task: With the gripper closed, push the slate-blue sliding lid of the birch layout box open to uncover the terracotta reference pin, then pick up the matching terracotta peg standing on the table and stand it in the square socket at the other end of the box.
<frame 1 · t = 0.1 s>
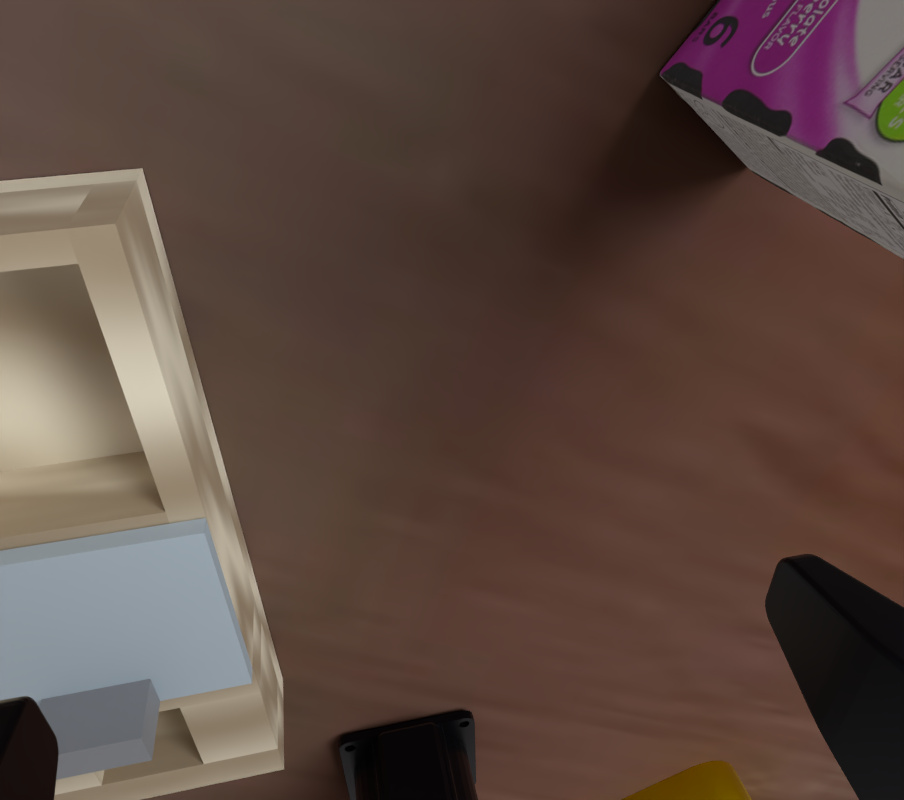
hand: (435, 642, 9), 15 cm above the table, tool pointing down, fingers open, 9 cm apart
lid: (67, 663, 21), point 5 cm above the table, slide at 0.0 cm
board: (92, 509, 24), on the table
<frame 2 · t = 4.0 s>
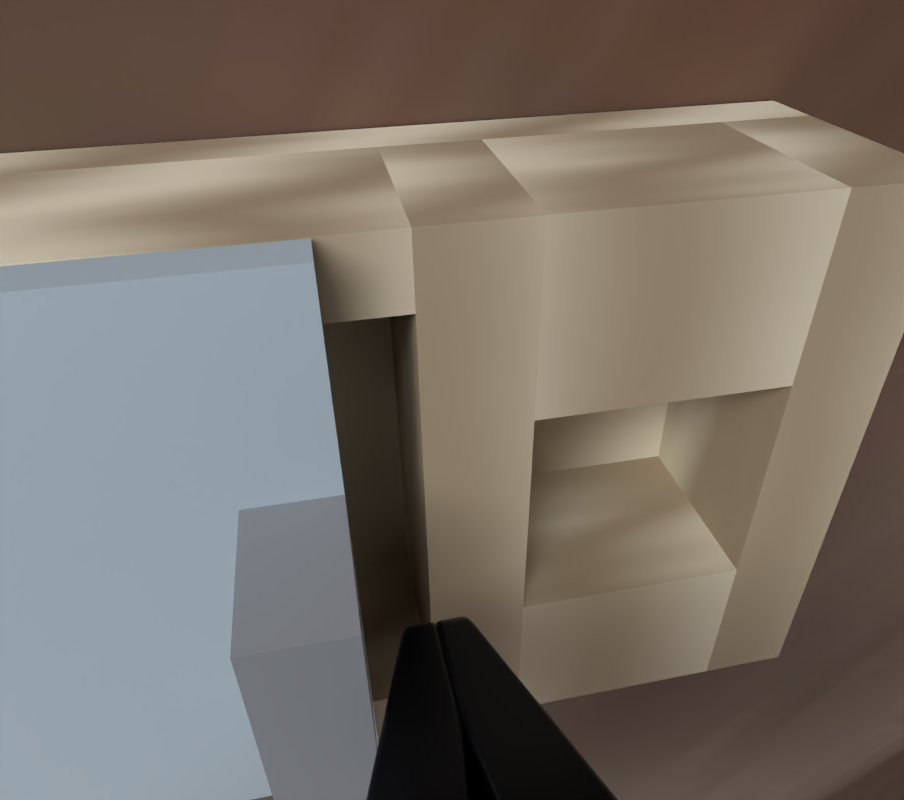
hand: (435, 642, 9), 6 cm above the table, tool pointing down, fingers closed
lid: (59, 684, 8), point 5 cm above the table, slide at 1.0 cm, touching gripper
board: (131, 415, 13), on the table
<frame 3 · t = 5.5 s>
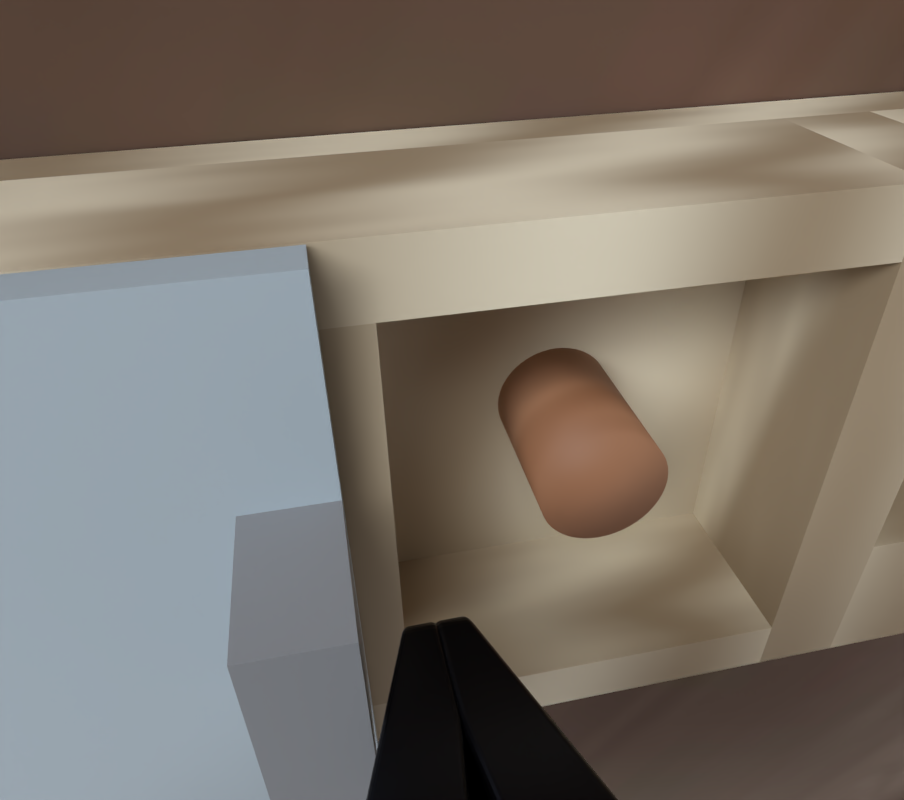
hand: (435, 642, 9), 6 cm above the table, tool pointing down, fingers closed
lid: (57, 692, 8), point 5 cm above the table, slide at 7.1 cm, touching gripper
board: (473, 375, 13), on the table
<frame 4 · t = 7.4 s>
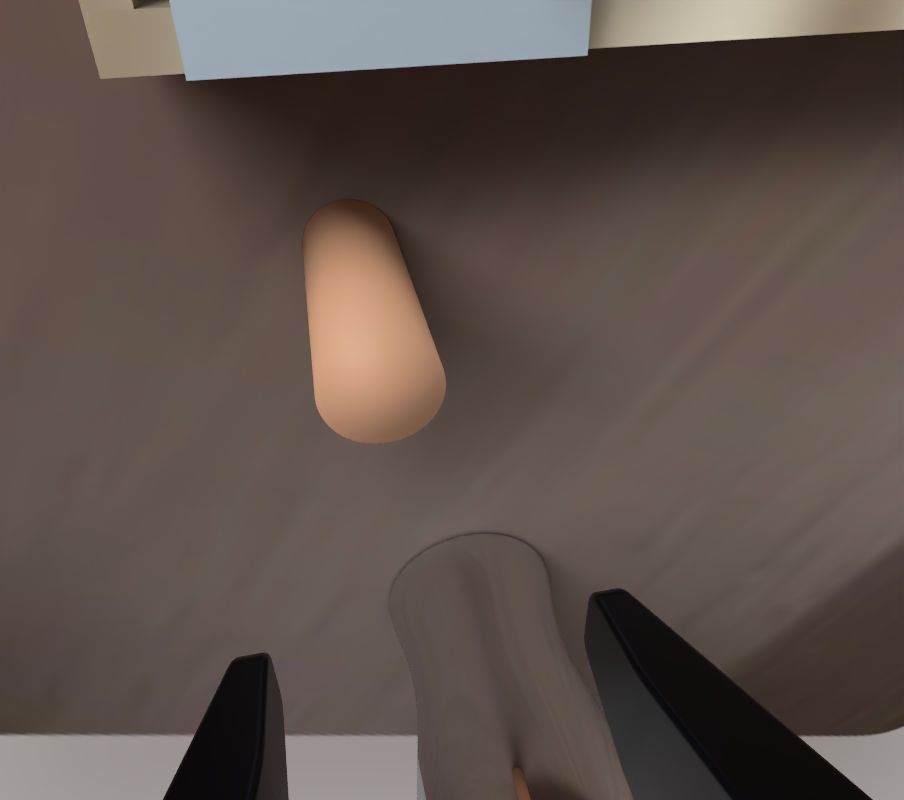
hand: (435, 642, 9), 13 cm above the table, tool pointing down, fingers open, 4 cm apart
peg: (349, 244, 19), on the table
beer glass: (467, 586, 28), on the table
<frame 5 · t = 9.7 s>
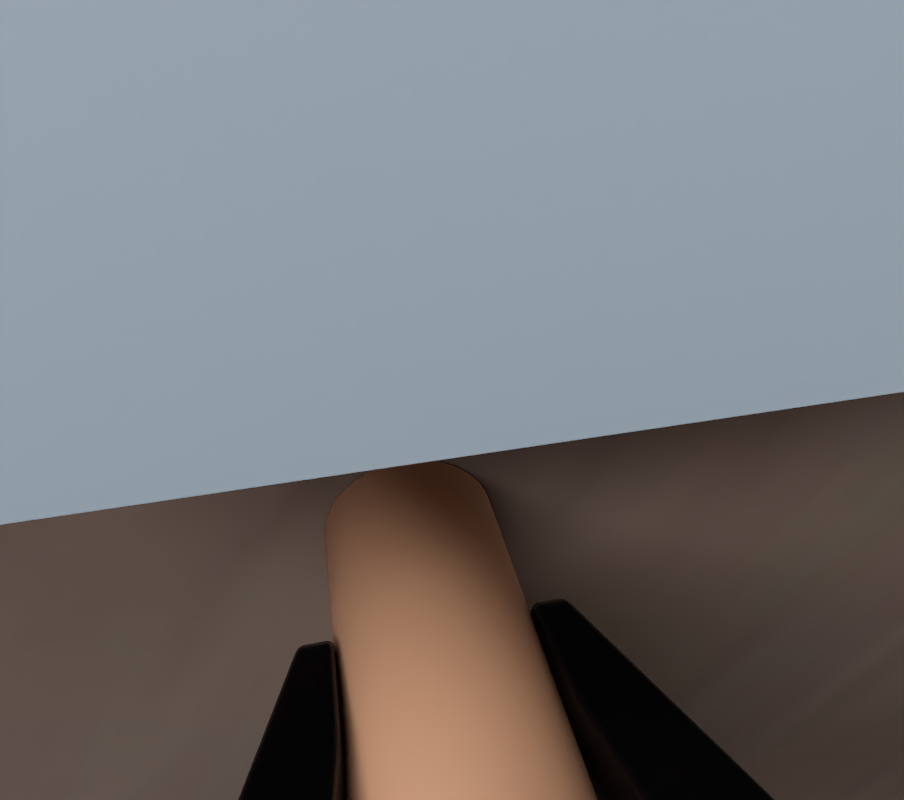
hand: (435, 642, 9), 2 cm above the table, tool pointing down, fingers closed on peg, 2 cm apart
peg: (409, 526, 10), on the table, touching gripper
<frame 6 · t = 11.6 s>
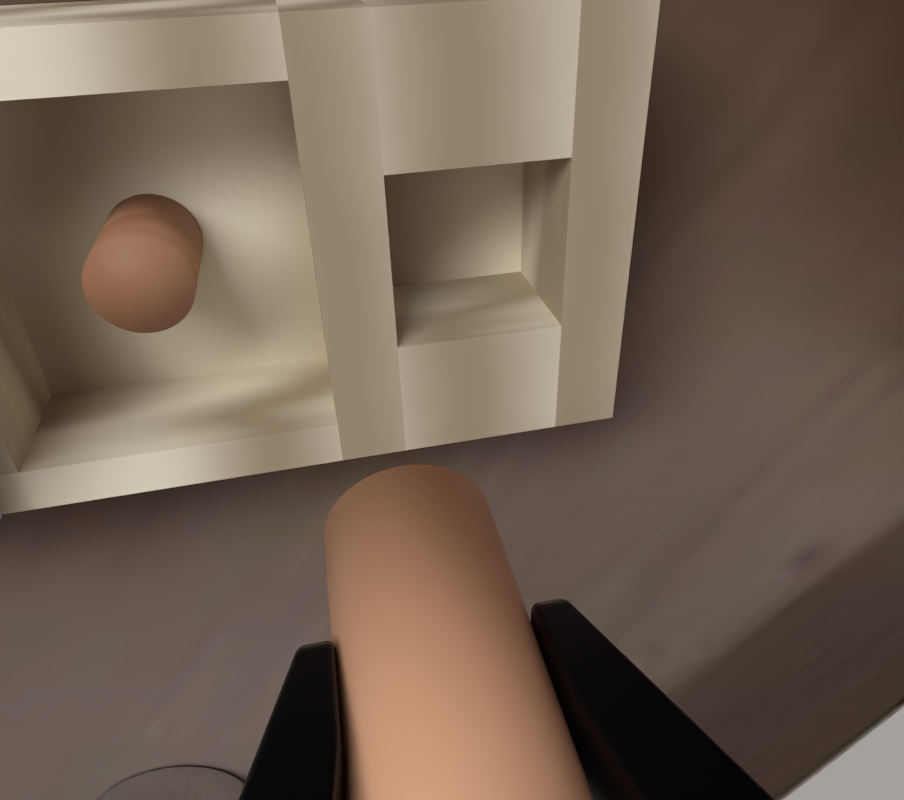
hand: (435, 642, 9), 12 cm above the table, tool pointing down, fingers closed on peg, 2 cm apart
board: (104, 229, 16), on the table
peg: (408, 530, 10), point 10 cm above the table, touching gripper
when the fingers open (4 cm above the table, at t = 13.9 s): peg drops 1 cm, resting on board.
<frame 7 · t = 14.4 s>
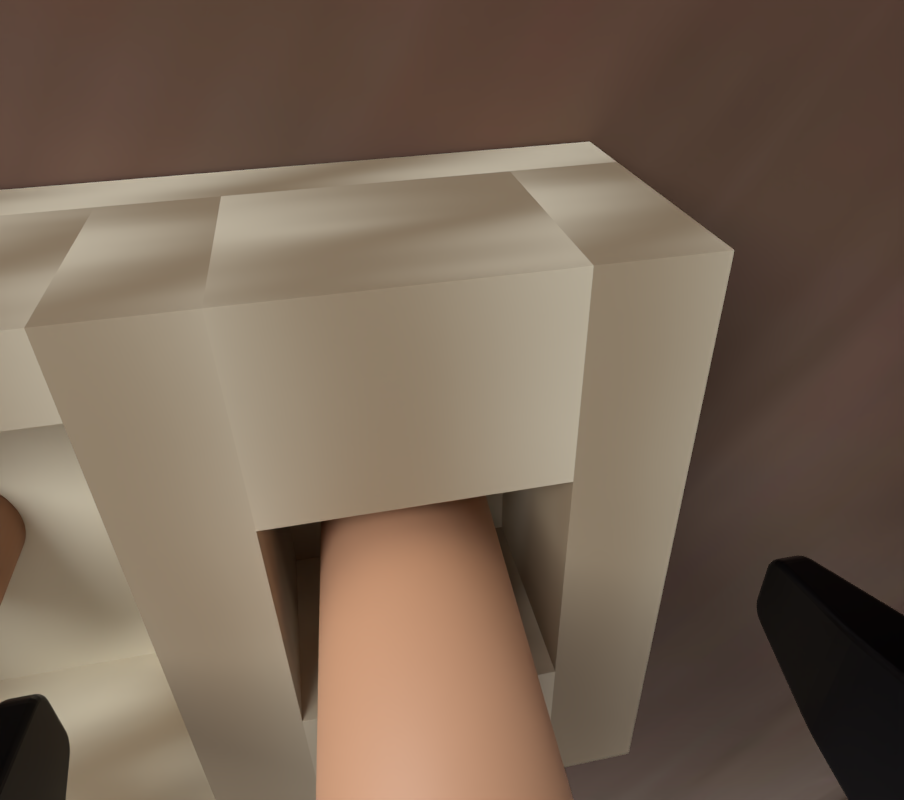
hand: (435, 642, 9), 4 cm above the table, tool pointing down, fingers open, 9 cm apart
peg: (398, 466, 12), point 1 cm above the table, touching board
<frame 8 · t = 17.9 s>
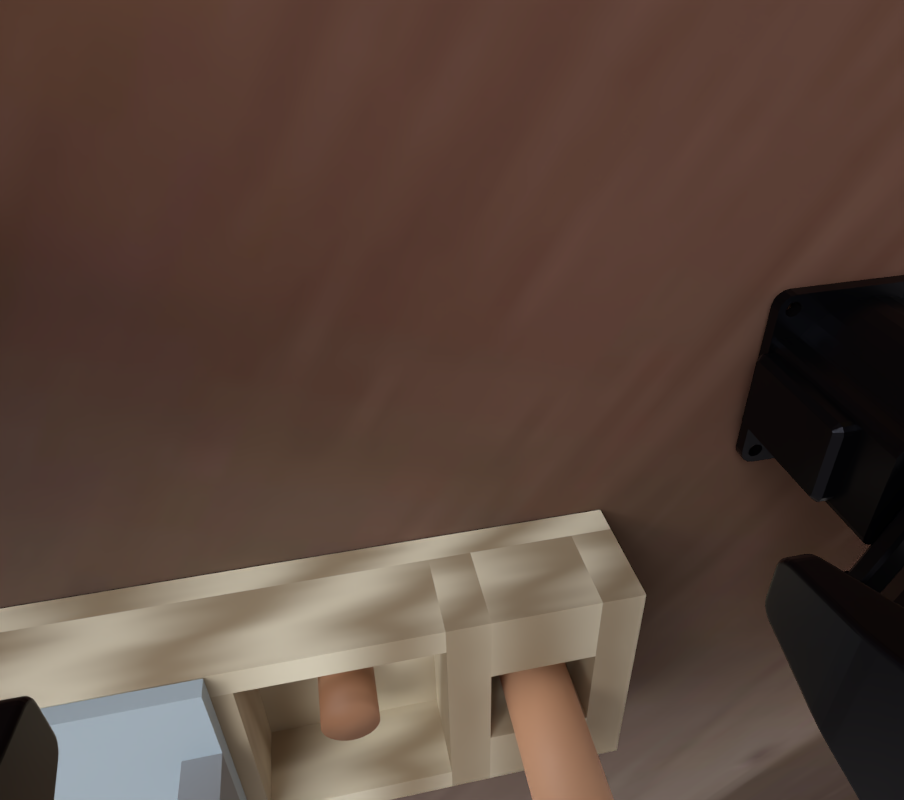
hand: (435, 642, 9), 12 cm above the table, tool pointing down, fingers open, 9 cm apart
board: (310, 644, 27), on the table
peg: (519, 628, 28), point 1 cm above the table, touching board
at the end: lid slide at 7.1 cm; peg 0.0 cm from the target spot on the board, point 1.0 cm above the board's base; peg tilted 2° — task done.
